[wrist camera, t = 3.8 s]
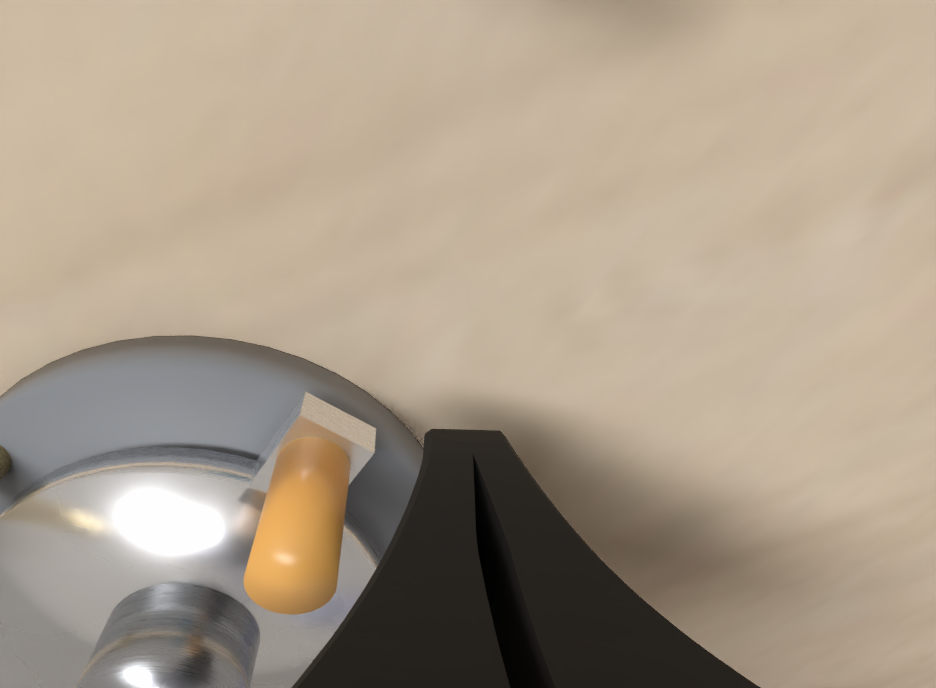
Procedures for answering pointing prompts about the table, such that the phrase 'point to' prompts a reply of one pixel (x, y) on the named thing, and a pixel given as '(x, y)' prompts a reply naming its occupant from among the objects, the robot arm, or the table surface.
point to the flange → (186, 562)
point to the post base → (193, 414)
